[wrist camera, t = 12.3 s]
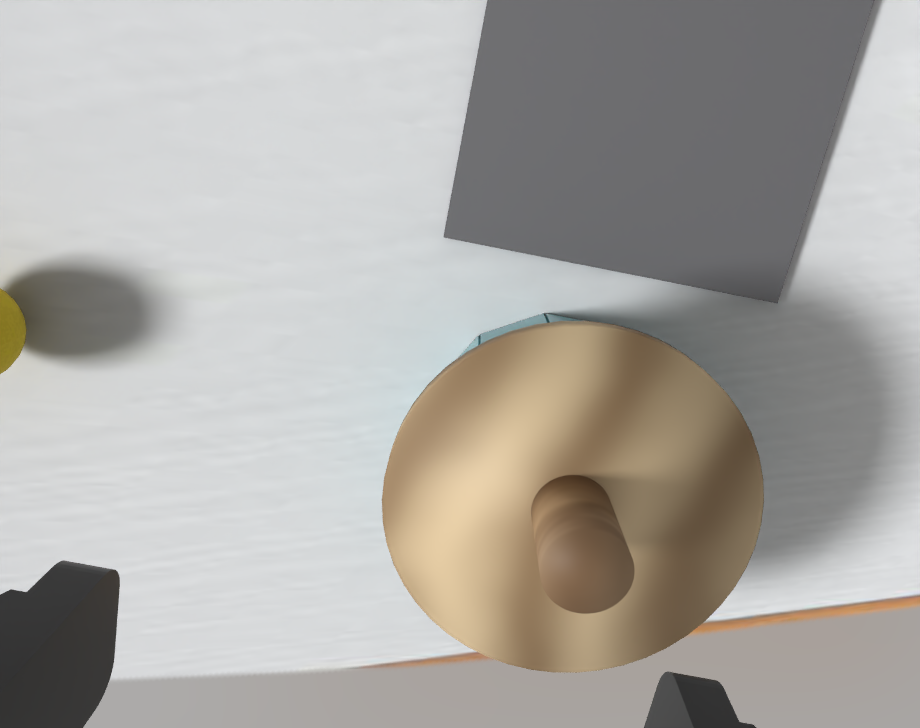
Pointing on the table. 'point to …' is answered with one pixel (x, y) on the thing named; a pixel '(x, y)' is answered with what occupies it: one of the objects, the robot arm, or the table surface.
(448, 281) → the table surface
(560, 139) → the mat
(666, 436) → the lid
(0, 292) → the lemon
